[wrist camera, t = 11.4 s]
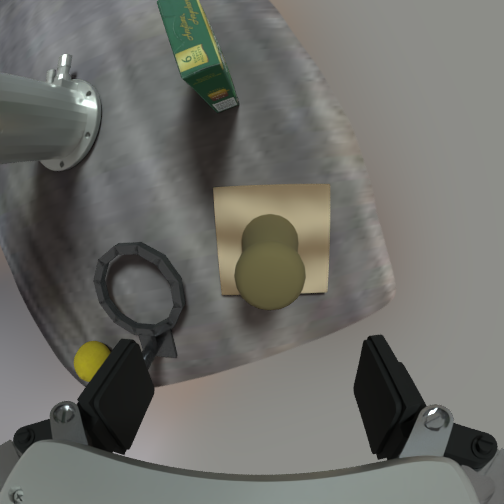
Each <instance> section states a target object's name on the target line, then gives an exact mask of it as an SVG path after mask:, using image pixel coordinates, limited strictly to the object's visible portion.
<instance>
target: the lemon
mask: <svg viewBox="0 0 504 504" xmlns="http://www.w3.org/2000/svg"><path fill="white" fill-rule="evenodd" d="M110 353H111V352H110V350H109V349H108V348H107V346H105V345H104V344H103V343H101V342H98V341H90V342H87V343H85V344H84V345H82V346H81V347H80V348H79V350H78V351H77V353H76V355H75V358H74V368H75V371H76V373H77V374H78V376H79V377H80V378H81V379H83V380H85V381H87V382H90V381H91V379H92V378H93V376H94V375H95V374H96V372H97V371H98V369H99V368H100V367H101V365H102V364H103V362H104V361H105V360H106V358H107V357H108V356H109V354H110Z"/></svg>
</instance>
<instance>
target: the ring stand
mask: <svg viewBox="0 0 504 504" xmlns="http://www.w3.org/2000/svg"><path fill="white" fill-rule="evenodd" d="M122 254H137V255H139V256H141V257H142V258H144V259H146V260H148V261H150V262H151V263H153V264H155V265H156V266H157V267H158V268H159V270H160V271H161V273H162V274H163V275H164V277H165V278H166V279H167V281H168V282H169V284H170V287H171V293H172V299H173V304H174V306H173V308H172V310H171V313H170V315H169V317H168V318H167V319H165V320H163V321H161V322H159V323H158V324H156V325H155V324H141V323H137V322H135V321H133V320H131V319H130V318H128V317H126V316H125V315H123V314H121V312H120V311H119V310H118V308H117V307H116V306H115V304H114V303H113V302H112V300H111V299H110V298H109V294H108V290H107V286H106V282H105V277H106V273H107V269H108V265H109V262H110V261H111V260H113V259H114V258H115V257H116V256H117V255H122ZM94 284H95V288H96V292H97V296H98V300H99V303H100V305H101V306H102V307H103V309H104V310H105V311H106V313H107V314H108V315H109V317H110V318H111V319H112V320H113V322H114V323H116V324H117V325H119V326H121V327H122V328H124V329H126V330H127V331H129V332H131V333H133V334H134V335H139V338H140V342H141V345H142V348H143V351H142V355H143V358H144V361H145V364H146V367H147V369H149V367H150V365H151V364H152V362H153V360H154V358H155V356H161V357H172V358H176V357H177V351H176V347H175V343H174V339H173V334H172V330H171V328H173V327H174V326H175V324H176V323H177V320H178V318H179V316H180V313H181V311H182V309H183V307H184V305H185V298H184V291H183V285H182V278H181V276H180V275H179V274H178V272H177V271H176V270H175V268H174V267H173V265H172V264H171V263H170V261H169V260H168V258H167V257H166V255H164V254H162V253H161V252H159V251H157V250H155V249H153V248H151V247H150V246H148V245H146V244H144V243H142V242H135V243H118V244H117V245H115V246H114V247H112V248H111V249H110V250H109V251H108V252H107V253H105V254H104V255H103V256H102V257H101V258H100V259H98V264H97V268H96V272H95V277H94Z"/></svg>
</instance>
